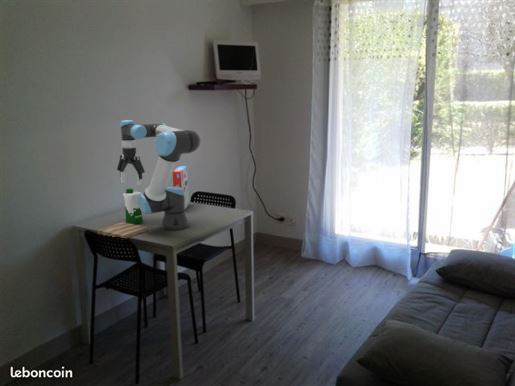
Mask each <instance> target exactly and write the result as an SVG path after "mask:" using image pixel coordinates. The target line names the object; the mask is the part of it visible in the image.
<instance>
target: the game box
mask: <svg viewBox="0 0 515 386" xmlns="http://www.w3.org/2000/svg"><path fill="white" fill-rule="evenodd" d="M188 177H189V176H188V166H187V165H183V166H181V165H180V166H177V168H175V169H174V170H172V184H173V185H172V187H180V188H182V189H183V190H184V195H185V196H184V200H185V210H186V209H187V208H188V207H189V205H190V204H189V202H190V200H189V199H190V198H189V183H188Z"/></svg>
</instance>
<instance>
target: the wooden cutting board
mask: <svg viewBox="0 0 515 386" xmlns="http://www.w3.org/2000/svg"><path fill="white" fill-rule="evenodd" d="M96 232H97V234H98V235H101V234H102V236H106V235H107V236H106V237H110V236H112V237H111V238H114V237H121V238H125V239H128V238H131V237H133V236H137V235H139V234H143V233H145V232H148V226H142V225H139V224H135V225H134V224H129V223H126V222H119V223H116V224H112V225H110V226H107V227H103V228H99V229H97V231H96Z"/></svg>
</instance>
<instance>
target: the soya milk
mask: <svg viewBox="0 0 515 386" xmlns="http://www.w3.org/2000/svg"><path fill="white" fill-rule="evenodd" d="M141 193H142V192H139V191H134V189H133V188H127V189H126V190H125V193H122V196H123V199H124V205H125V206H124V209H125V223H129V224H134V225H139V224H141V223H143V222H144V221H143V220H144V219H143V214H142V211H141V210H140V208H139V204H138V195H139V194H141Z"/></svg>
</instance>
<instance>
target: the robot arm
mask: <svg viewBox="0 0 515 386" xmlns="http://www.w3.org/2000/svg"><path fill="white" fill-rule="evenodd" d="M120 134H121V147H122V154H120V155H119V161H118V165H117V168H116V170H117V171H119V176H120V183H121V184H122V183H126V171H125V169H126V167H127V166H128V164H129V165H130V164H131V165H132V167H133V168H134V169H135V172H137V174H136V184H137V186H141V185H143V174H144V173H145V172H146V171H145V169H144V166H143V164H142V162H141V157H140V156H136V154H137V148H136V146H137V145H136V139H137V140H139V139H140V140H141V139H146V138H147V139H148V138H156V139H155V141H154V143H155V144H154V146H155V152H156V153H157V156H158V159H157V163H156V165H155V167H154V171H153V174H152V176H151V177H152V178H151V180H150V183H149V185H148V186H147V187H145V189H144V191H143V193H142V192H140V193H141V194H139V195H138V204H139V208H140V210H141V211H142V213H143V214H144V215H152V214H156V213H161V212H164V214H163V220H162V222H161V227H162V229H163V230H169V231H177V230H178V231H179V230H184V229H186V228H188V227H189V226H190V224H189V220H188V217H187V215H186V214H187V213H186V209H185V200H184V196H185V195H184V190H183V189H182V188H180V187H173V185H172V186H171V185H170V186H168V184H169V180H170V179H171V175H172V174H173V171H174V170H173V169H174V167H175V165H176V163H177V162H179V161H180V159H181V157H182V155H185V154H191V153H194V152H195V151H197V150H198V149H199V147H200V145H201V142H202V141H201V136H200V135H199V133H198V132H197V131H195V130H191V129H187V128H186V129H184V130H183V129H179V128H176V127H172V126H168V125H166V123H164V122H163V123H161V122H158V123H145V124H143V123H142V124H135V122H134V119H133V120H131V119H124V120H121V121H120Z"/></svg>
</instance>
